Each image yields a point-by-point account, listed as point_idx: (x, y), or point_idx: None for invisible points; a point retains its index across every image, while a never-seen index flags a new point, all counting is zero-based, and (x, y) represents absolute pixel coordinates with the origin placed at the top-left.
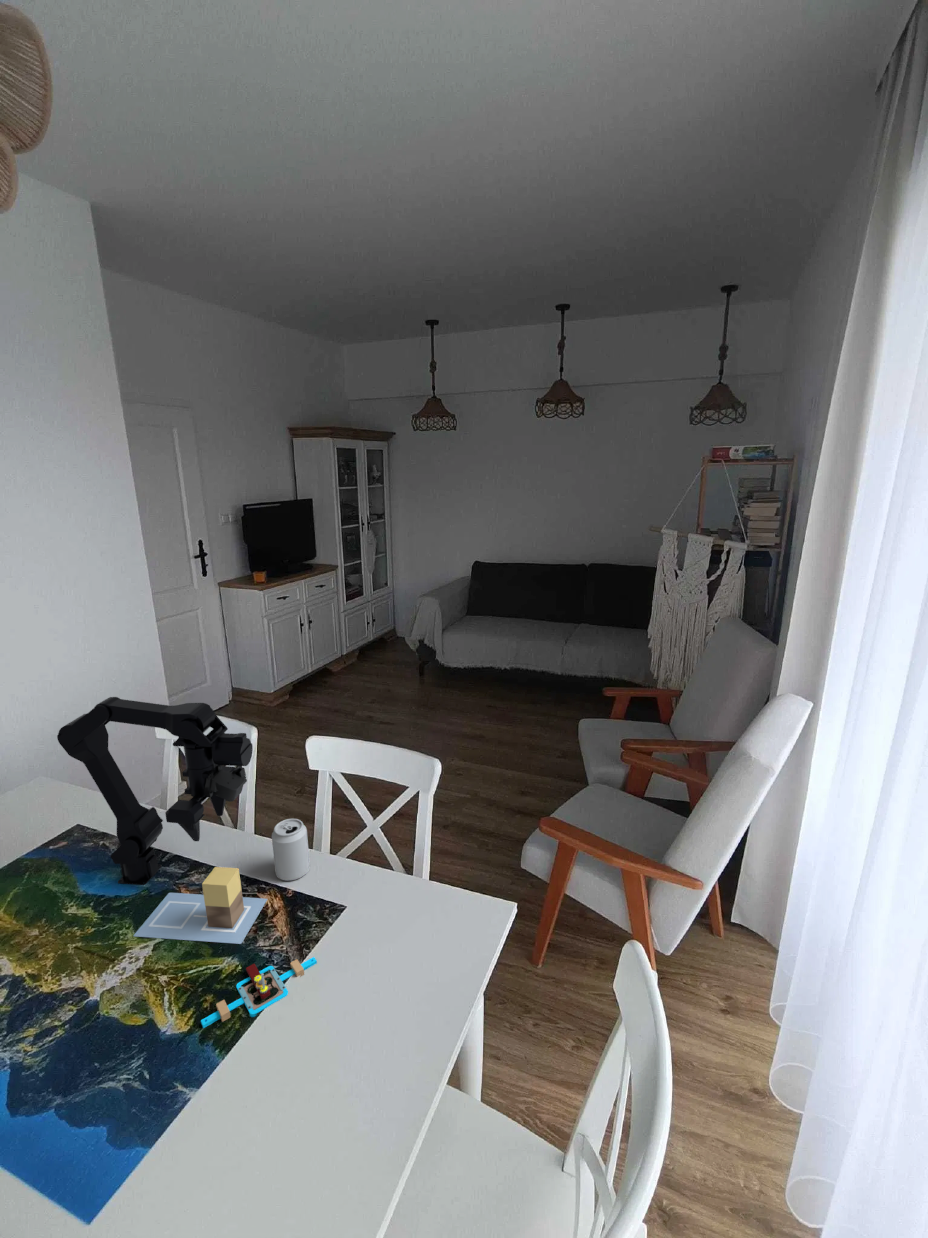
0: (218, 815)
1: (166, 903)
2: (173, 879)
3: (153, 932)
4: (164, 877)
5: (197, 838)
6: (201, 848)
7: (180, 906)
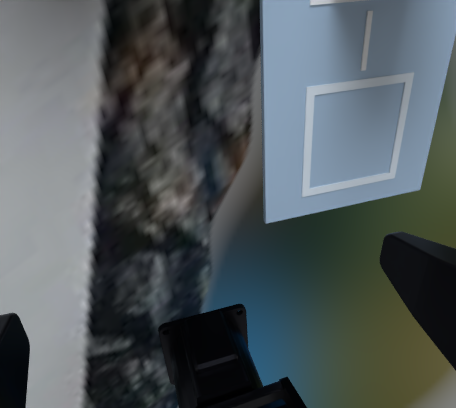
0: (24, 340)
1: (310, 197)
2: (200, 257)
3: (415, 148)
4: (197, 286)
5: (431, 245)
6: (22, 292)
7: (321, 146)
